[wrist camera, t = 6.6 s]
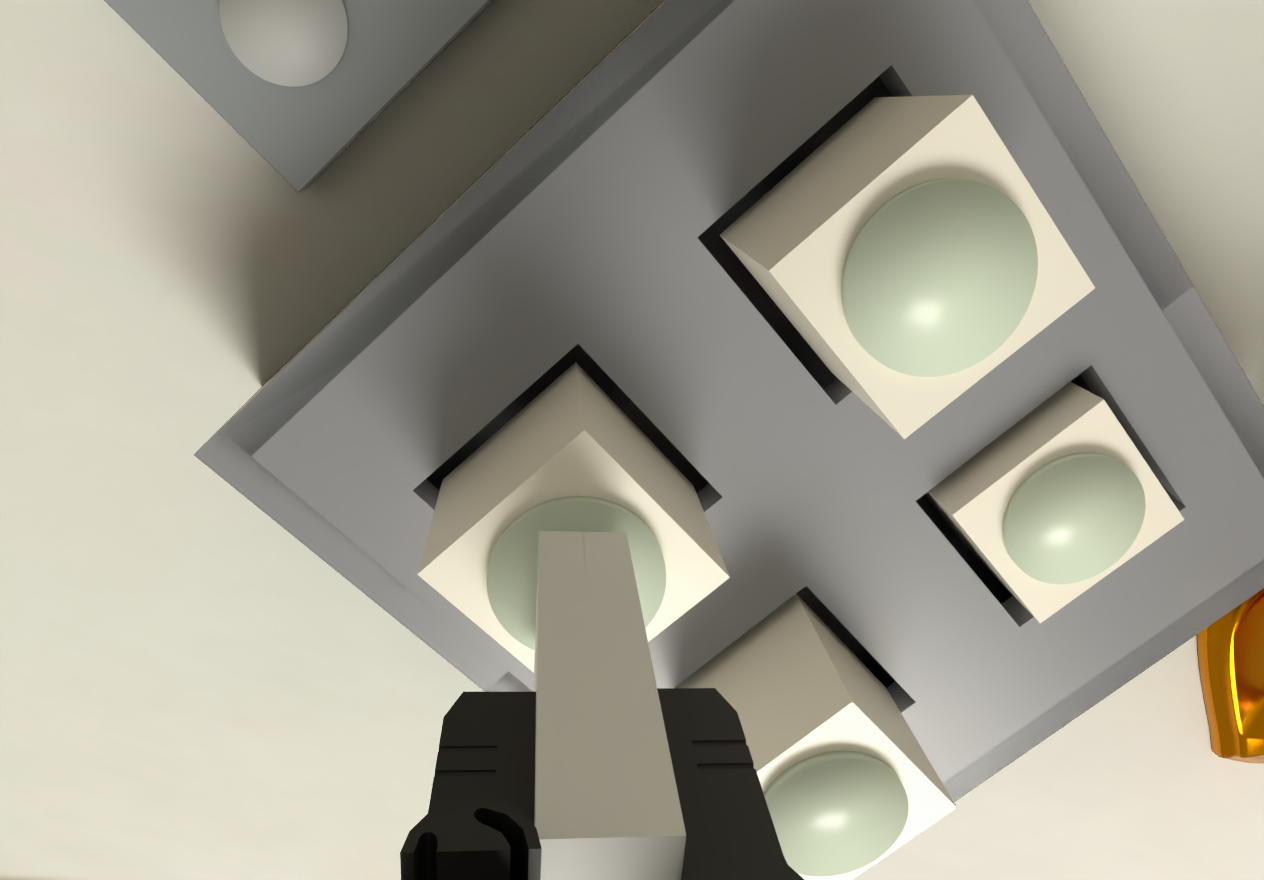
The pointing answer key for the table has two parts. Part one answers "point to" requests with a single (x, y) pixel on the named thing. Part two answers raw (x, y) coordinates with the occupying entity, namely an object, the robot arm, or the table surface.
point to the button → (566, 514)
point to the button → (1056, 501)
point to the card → (299, 64)
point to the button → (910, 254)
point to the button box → (775, 372)
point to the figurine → (1235, 681)
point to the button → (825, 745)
